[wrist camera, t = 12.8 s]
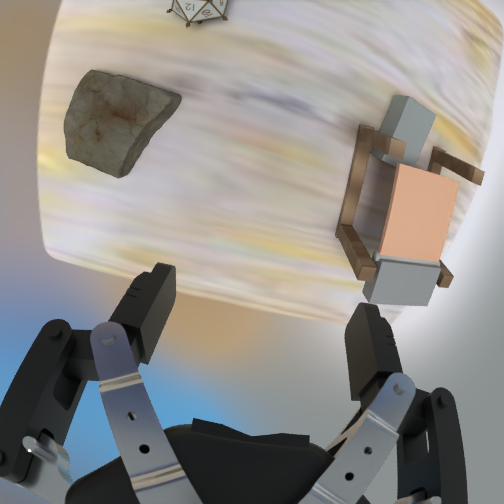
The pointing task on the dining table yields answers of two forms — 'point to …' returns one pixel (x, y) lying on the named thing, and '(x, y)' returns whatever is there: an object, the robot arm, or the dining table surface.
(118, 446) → the robot arm
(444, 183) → the trapdoor
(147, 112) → the marble piece
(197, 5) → the game die
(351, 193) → the frame
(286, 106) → the dining table surface
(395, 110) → the slate block
